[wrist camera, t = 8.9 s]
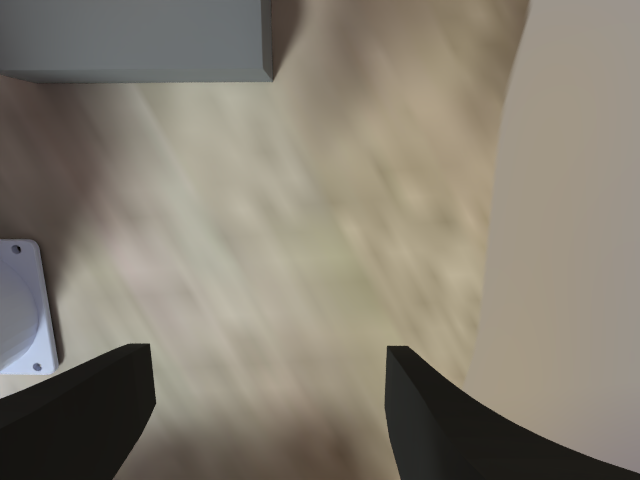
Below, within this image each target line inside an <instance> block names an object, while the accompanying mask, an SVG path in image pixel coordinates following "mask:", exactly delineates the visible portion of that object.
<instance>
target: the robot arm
mask: <svg viewBox="0 0 640 480" xmlns="http://www.w3.org/2000/svg"><path fill="white" fill-rule="evenodd" d="M17 245H18V246H19V247H20V248H21V252H20V251H19V250H18V249H17ZM38 363H39V364H40V365H41V366H42V367H40V366H39V365H38ZM58 366H59V364H58V358H57V352H56V346H55V340H54V334H53V328H52V322H51V316H50V310H49V303H48V297H47V291H46V285H45V279H44V273H43V267H42V261H41V255H40V249H39V246H38V244H37V243H36V242H35V241H33V240H30V239H0V374H35V375H49V374H52V373H53V372H55V371H56V370H57V369H58ZM155 405H156V397H155V388H154V378H153V369H152V360H151V350H150V344H127V345H124V346H121V347H119V348H116V349H114V350H111V351H109V352H107V353H104V354H102V355H100V356H98V357H96V358H94V359H91V360H89V361H87V362H85V363H83V364H81V365H78V366H76V367H74V368H72V369H70V370H68V371H65V372H63V373H61V374H59V375H56V376H54V377H52V378H50V379H47V380H45V381H43V382H40V383H38V384H36V385H33V386H31V387H29V388H26V389H24V390H22V391H19V392H17V393H14V394H12V395H9V396H6V397H4V398H1V399H0V480H112V479H113V478H114V476H115V475H116V473H117V472H118V470H119V469H120V467H121V466H122V464H123V462H124V461H125V459H126V458H127V456H128V455H129V453H130V452H131V450H132V449H133V447H134V445H135V444H136V442H137V441H138V439H139V438H140V436H141V434H142V432H143V430H144V428H145V426H146V424H147V422H148V420H149V418H150V416H151V414H152V411H153V409H154V407H155ZM385 412H386V419H387V426H388V432H389V438H390V442H391V446H392V449H393V453H394V456H395V460H396V464H397V467H398V471H399V474H400V478H401V480H640V474H639V473H636V472H633V471H630V470H627V469H624V468H621V467H618V466H615V465H612V464H609V463H606V462H603V461H600V460H597V459H594V458H592V457H589V456H586V455H584V454H581V453H579V452H576V451H574V450H571V449H569V448H567V447H564V446H562V445H559V444H557V443H555V442H553V441H550V440H548V439H546V438H544V437H541V436H539V435H537V434H535V433H533V432H531V431H529V430H527V429H525V428H523V427H521V426H519V425H517V424H515V423H513V422H512V421H510V420H508V419H506V418H504V417H502V416H501V415H499V414H497V413H496V412H494V411H492V410H491V409H489V408H487V407H486V406H484V405H482V404H481V403H479V402H478V401H476V400H475V399H473V398H472V397H470V396H469V395H468V394H466V393H465V392H463V391H462V390H461V389H459V388H458V387H456V386H455V385H454V384H453V383H451V382H450V381H449V380H447V379H446V378H445V377H444V376H442V375H441V374H440V373H439V372H437V371H436V370H435V369H434V368H433V367H432V366H430V365H429V364H428V363H427V362H426V361H425V360H423V359H422V358H421V357H420V356H419V355H418V354H417V353H415V352H414V351H413V350H412V349H411V348H409V347H408V346H387V358H386V383H385Z"/></svg>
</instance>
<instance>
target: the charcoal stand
mask: <svg viewBox="0 0 640 480" xmlns="http://www.w3.org/2000/svg"><path fill="white" fill-rule="evenodd" d="M0 75H4V76H8V77H12V78H16V79H21V80H25V81H29V82H33V83H148V82H273V67H272V29H271V0H0Z"/></svg>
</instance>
